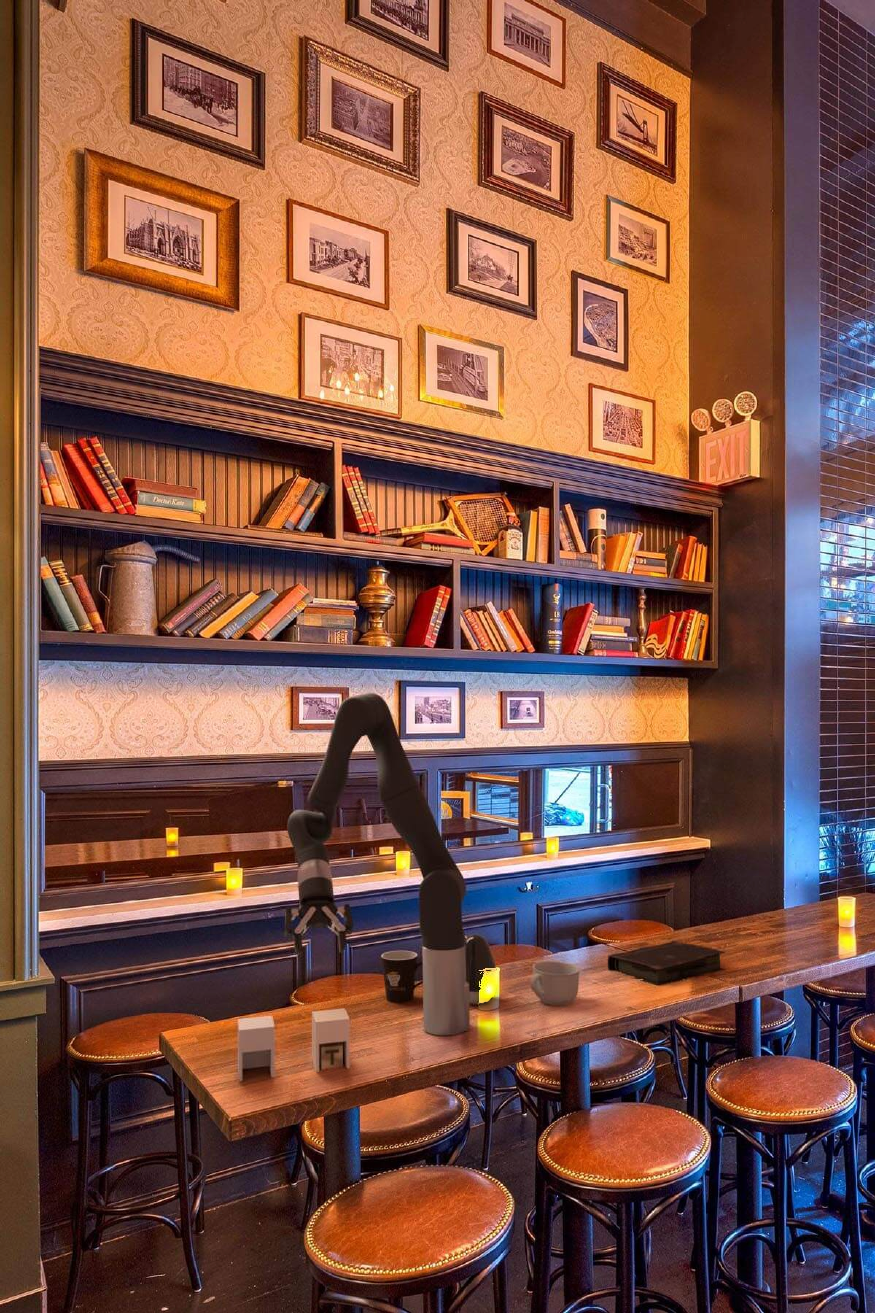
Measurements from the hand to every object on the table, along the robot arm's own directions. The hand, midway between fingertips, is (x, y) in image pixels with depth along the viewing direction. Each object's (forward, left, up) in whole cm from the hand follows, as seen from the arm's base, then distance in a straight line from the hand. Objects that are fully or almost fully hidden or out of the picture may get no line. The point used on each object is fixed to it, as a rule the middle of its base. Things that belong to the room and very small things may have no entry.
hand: (321, 952), depth 176 cm
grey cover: (+14, +12, -18) cm, 26 cm away
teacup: (-54, -9, -18) cm, 58 cm away
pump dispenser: (-38, -16, -18) cm, 45 cm away
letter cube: (0, +12, -18) cm, 22 cm away
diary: (-93, -25, -19) cm, 98 cm away
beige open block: (0, +12, -18) cm, 22 cm away
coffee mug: (-22, -22, -18) cm, 36 cm away
